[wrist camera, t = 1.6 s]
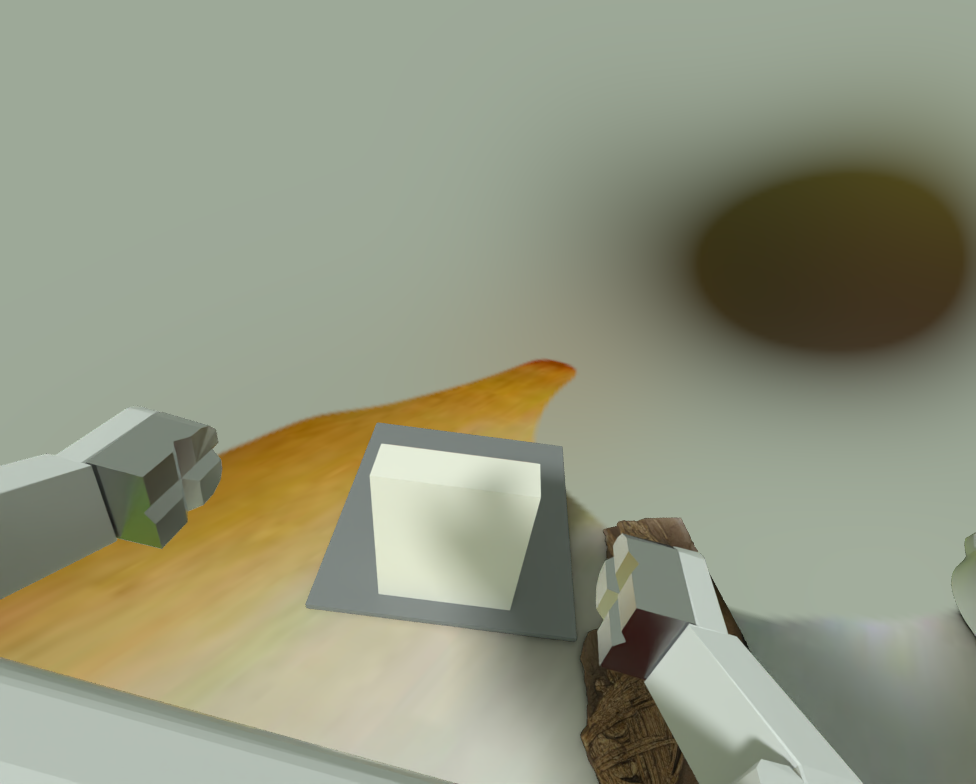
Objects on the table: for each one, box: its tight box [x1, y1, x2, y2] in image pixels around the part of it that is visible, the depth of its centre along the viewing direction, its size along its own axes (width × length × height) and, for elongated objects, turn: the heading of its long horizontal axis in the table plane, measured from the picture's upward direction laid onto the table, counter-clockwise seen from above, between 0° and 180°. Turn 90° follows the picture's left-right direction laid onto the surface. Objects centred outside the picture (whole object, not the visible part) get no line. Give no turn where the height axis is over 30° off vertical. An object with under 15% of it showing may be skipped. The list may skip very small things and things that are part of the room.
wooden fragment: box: [580, 518, 751, 784], centre depth 30 cm, size 26×11×1 cm, turn 160°
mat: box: [305, 423, 577, 642], centre depth 38 cm, size 18×18×1 cm
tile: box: [370, 444, 541, 610], centre depth 29 cm, size 9×3×12 cm, turn 86°
